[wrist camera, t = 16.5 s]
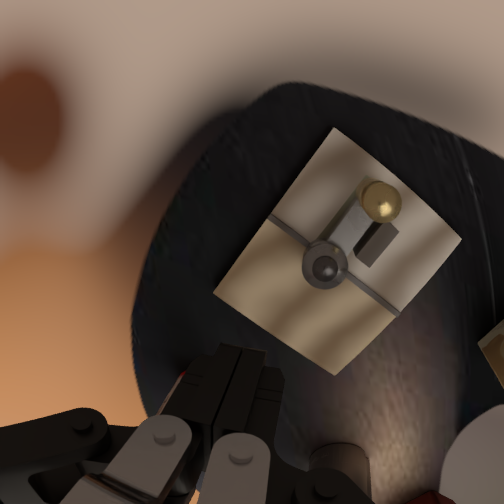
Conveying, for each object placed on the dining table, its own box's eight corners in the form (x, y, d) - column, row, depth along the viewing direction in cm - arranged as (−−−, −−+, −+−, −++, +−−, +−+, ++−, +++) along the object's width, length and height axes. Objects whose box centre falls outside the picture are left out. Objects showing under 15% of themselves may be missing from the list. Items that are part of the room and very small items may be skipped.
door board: (457, 236, 31) (473, 247, 27) (334, 369, 38) (335, 391, 34) (333, 128, 30) (336, 124, 26) (215, 288, 38) (204, 304, 34)
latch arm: (328, 287, 33) (330, 312, 28) (294, 263, 33) (289, 285, 28) (398, 194, 29) (414, 203, 24) (362, 167, 29) (372, 170, 24)
